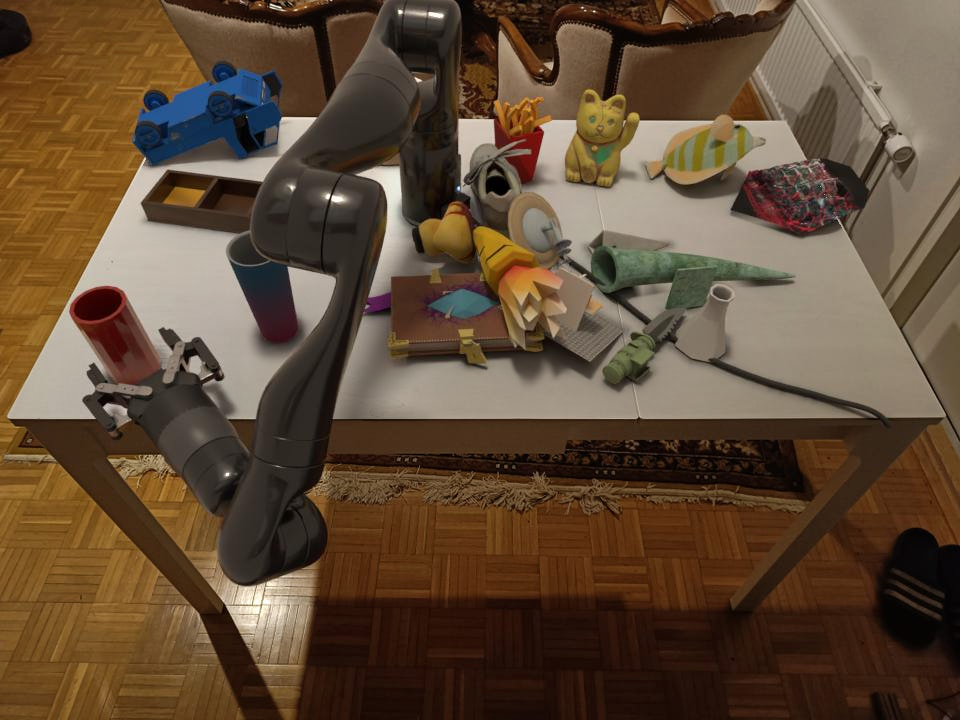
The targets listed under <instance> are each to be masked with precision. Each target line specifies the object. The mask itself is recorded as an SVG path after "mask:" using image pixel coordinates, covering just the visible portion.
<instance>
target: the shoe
mask: <svg viewBox="0 0 960 720" xmlns="http://www.w3.org/2000/svg"><path fill="white" fill-rule="evenodd" d="M524 141H526V139H524V140H520V141H517V142H513V143H511V144H509V145H507V146H505V147H503V148H501V149H499V150H498V149H497V147H496V146H495V143H491V142H485V143H481V144H479V145H478V146H477V147H475V149H474V150H473V152H472V154H471V157H470V160H469V171H468V172H467V173H466V175H465V176H464V177H463V179H462V182H463V183H464V185H463V186H462V187H463V188H464V187H465V186H471V188H472V191H473V193H474V194H475V196H476V197H477V198H479V201H480V209H481V212H482V215H483V218H484V223H483V227H486V228H490V229H492V230H494V231H496V232H498V233H500V234H502V235H503V236H505V237H506V238H508V239H509V240H510V241H511V239H510V234H509V229H508V212H509V209H510V206H511V203H512V201H513V200H514V199H515V197H516V196H517V195H519V194H521V193H522V183H521V181H520V178H519V175H518V172H517V170H516V168H515V167H514V166H513V165H511V164H509V163H508V162H507V160H506V159H505V158H504V157H510V156H516V155H522V154H531V150H528V149H516V150H511V151H507V152H504V151H505V150H507V149H509V148H511V147H513V146H514V145H516V144H518V143H521V142H524ZM502 152H504V153H502Z"/></svg>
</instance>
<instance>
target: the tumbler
mask: <svg viewBox="0 0 960 720" xmlns="http://www.w3.org/2000/svg"><path fill="white" fill-rule="evenodd" d="M68 313H69V316H70V318H71V320H72V321H73V322H74V324H75V326H76V327H77V328H78V330H79V332H80V333H81V335H82V336H83V338H84V339H85V340H86V342H87V344H88V346H89V347H90V348H91V350H92V351H93V353H94V354H95V356H96V357H97V359H98V360H99V362H100V363H101V365H102V366H103V368H104V370H105V371H106V372H107V374H108V375H109V377H110V379H112V381H113V382H114V383H115V384H116V385H118V384H119V383H123V384H129V385H136V384H137V383H136V382H137V381H139V380H141V379H143V378H146V377H149V376H151V375H152V374H153V373H154V372H156V371H157V370H159V369H161V368H162V359H161V357H160V355H159V353H158V351H157V349H156V348H155V346H154V344H153V342H152V340H151V338H150V337H149V335H148V333H147V331H146V330H145V328H144V326H143V324H142V322H141V319H139V316H138V315H137V313H136V311H135V309H134V308H133V306H132V304H131V302H130V301H129V298H128V296H127V295H126V293H125V291H124V290H122V289H121V288H119V287H117V286H112V285H102V286H101V285H100V286H95V287H92V288H89V289H87V290H85V291H83V292H82V293H80V294H78V295H77V296H76V297H75V298H74V299H73V300H72V302H71V303H70V305H69V309H68Z"/></svg>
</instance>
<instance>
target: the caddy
mask: <svg viewBox="0 0 960 720" xmlns="http://www.w3.org/2000/svg"><path fill="white" fill-rule="evenodd" d="M262 183H263V181H260V180H253V179H247V178H246V179H245V178H237V177H229V176H222V175H214V174H207V173H199V172H190V171H184V170H175V169H166V170H165V172H164V173H163V174H162V175H161V177H160V178H159V179H158V181H156V183H155V184H154V185H153V186H152V188H151V189H150V190H149V192H147V194H146V195H145V196H144V198H143V199H142V200H141V202H140V206H141V208H142V210H143V212H144V214H145V217H146V219H147V221H148V222H156V223H163V224H169V225H178V226H186V227H192V228H200V229H207V230H215V231H223V232H230V233H235V234H236V233H238V234H241V233H243V232H246V231H249V230H250V218H251V211H252V207H253V204H254V201H255V198H256V196H257V193H258V191H259V188H260V186H261V184H262Z"/></svg>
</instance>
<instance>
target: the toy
mask: <svg viewBox="0 0 960 720" xmlns="http://www.w3.org/2000/svg"><path fill="white" fill-rule="evenodd" d="M473 217H474V216H473V214H472V212H471V210H470V209H469V208H468V207H467V206H466V205H465V204H464V203H462V202H459V201H456V202H452V203H451V204H450V205H449V206H448V209H447V212H446V213H445V215H444V217H443V219H442V220H438V219H428V220H426V221H424V222H423V223H422V224H420V225H419V226H416V227H414V228H411V236H412V241H413V244H414V249H415V251H416V253H418V254H425V255H428V256H440V255H443V254H445V253H446V254H447V255H449V256H450V257H452V258H453V259H454V260H456V261H458V262H460V263H462V264H469V263H470V262H473V260H474V259H475V258H476V254H477V249H476V247H475V244H474V240H473V231H474V230H475V229H476V228H477V226H476V225H475V222H474V219H473Z"/></svg>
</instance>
